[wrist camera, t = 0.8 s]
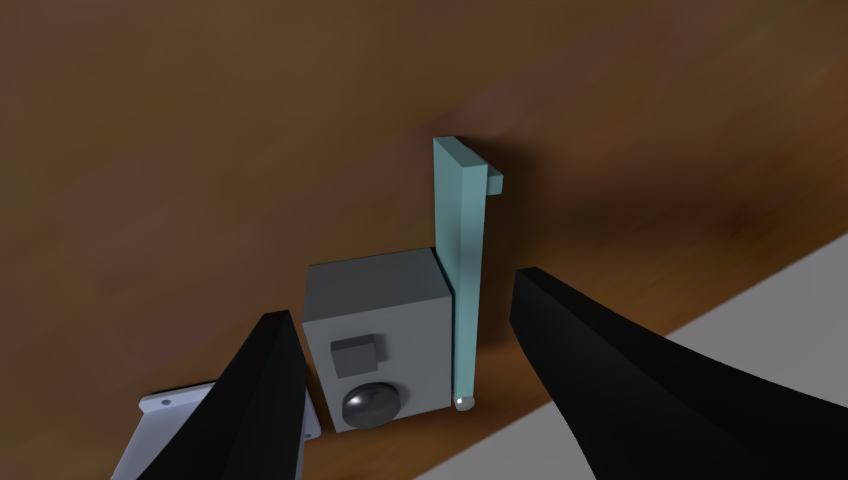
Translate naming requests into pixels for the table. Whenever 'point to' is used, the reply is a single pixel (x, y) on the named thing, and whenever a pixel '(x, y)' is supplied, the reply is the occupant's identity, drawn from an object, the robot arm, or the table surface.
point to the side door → (461, 249)
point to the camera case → (380, 336)
